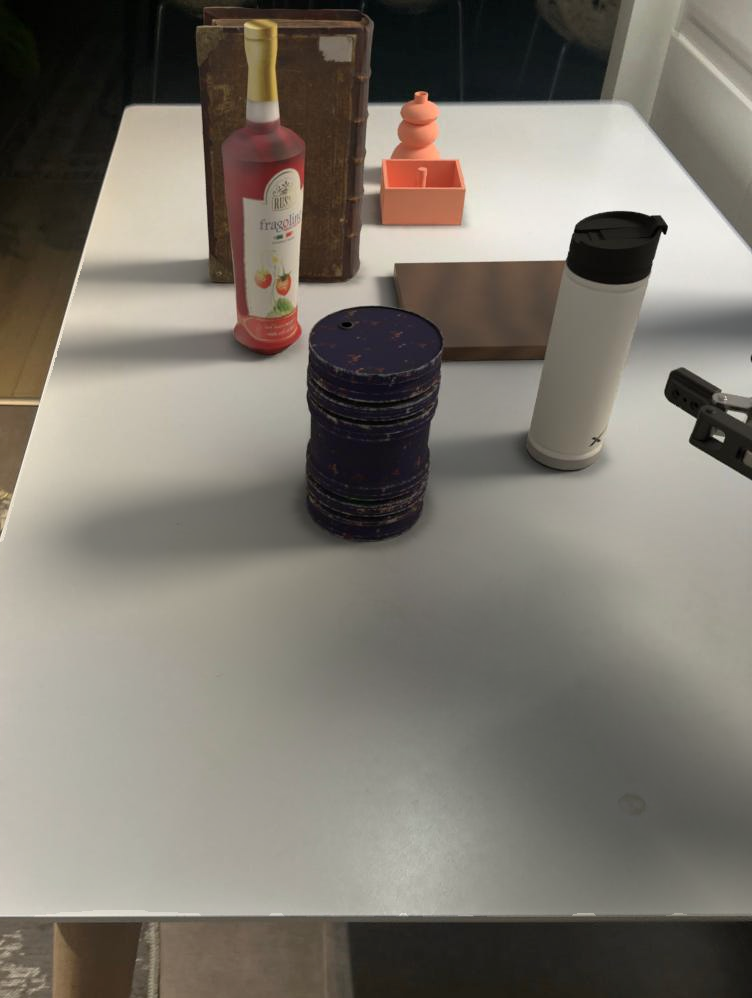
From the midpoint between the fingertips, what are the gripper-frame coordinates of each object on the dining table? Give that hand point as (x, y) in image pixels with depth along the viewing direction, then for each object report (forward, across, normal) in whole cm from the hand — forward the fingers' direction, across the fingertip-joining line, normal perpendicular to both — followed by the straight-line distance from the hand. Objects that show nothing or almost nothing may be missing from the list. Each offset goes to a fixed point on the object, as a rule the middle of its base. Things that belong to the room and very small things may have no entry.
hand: (714, 363), depth 66 cm
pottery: (+62, -22, +14) cm, 67 cm away
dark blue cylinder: (+14, +19, +14) cm, 28 cm away
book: (+53, +4, +14) cm, 55 cm away
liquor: (+41, +13, +14) cm, 45 cm away
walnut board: (+33, -10, +14) cm, 37 cm away
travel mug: (+11, 0, +14) cm, 18 cm away
